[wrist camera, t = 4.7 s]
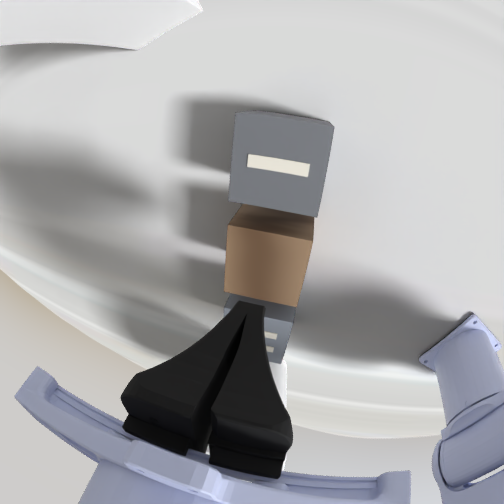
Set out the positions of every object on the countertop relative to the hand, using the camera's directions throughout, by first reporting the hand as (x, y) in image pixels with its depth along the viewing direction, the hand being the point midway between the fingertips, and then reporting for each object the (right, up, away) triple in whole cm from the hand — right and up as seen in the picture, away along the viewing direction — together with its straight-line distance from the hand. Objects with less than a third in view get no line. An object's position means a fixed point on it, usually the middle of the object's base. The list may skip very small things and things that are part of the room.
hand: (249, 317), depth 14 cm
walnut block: (+2, +5, +8) cm, 9 cm away
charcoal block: (+3, +10, +5) cm, 11 cm away
